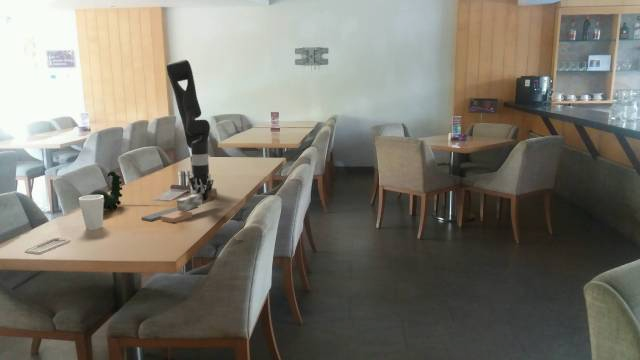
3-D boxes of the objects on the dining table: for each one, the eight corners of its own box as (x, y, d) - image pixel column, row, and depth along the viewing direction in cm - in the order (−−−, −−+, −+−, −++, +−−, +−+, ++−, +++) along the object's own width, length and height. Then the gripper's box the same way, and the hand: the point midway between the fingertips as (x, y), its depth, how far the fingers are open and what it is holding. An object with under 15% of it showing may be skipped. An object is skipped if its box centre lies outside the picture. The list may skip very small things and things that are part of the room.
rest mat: (188, 205, 249) (188, 203, 249) (197, 207, 246) (197, 205, 245) (141, 219, 226) (141, 217, 225) (150, 221, 222) (150, 219, 222)
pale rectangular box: (212, 197, 247) (211, 187, 245) (217, 198, 245) (216, 188, 244) (178, 210, 229) (176, 200, 227) (183, 211, 227) (181, 201, 226)
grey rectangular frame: (40, 255, 183) (71, 242, 197) (40, 251, 183) (71, 238, 197) (24, 253, 185) (56, 240, 199) (23, 250, 185) (55, 237, 199)
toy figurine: (110, 207, 254) (80, 216, 229) (108, 169, 252) (77, 174, 227) (128, 208, 252) (99, 217, 228) (126, 169, 250) (97, 175, 226)
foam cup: (111, 225, 217) (108, 195, 215) (95, 231, 209) (92, 200, 206) (93, 223, 220) (90, 194, 218) (77, 229, 212) (73, 199, 209)
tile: (179, 210, 233) (160, 215, 224) (192, 212, 228) (173, 218, 219) (179, 215, 233) (160, 221, 224) (192, 217, 229) (173, 223, 220)
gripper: (217, 163, 235) (219, 199, 238) (195, 161, 242) (197, 196, 246) (205, 165, 229) (207, 203, 232) (183, 163, 236) (185, 199, 239)
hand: (202, 199), depth 239 cm, fingers closed on pale rectangular box, 3 cm apart
